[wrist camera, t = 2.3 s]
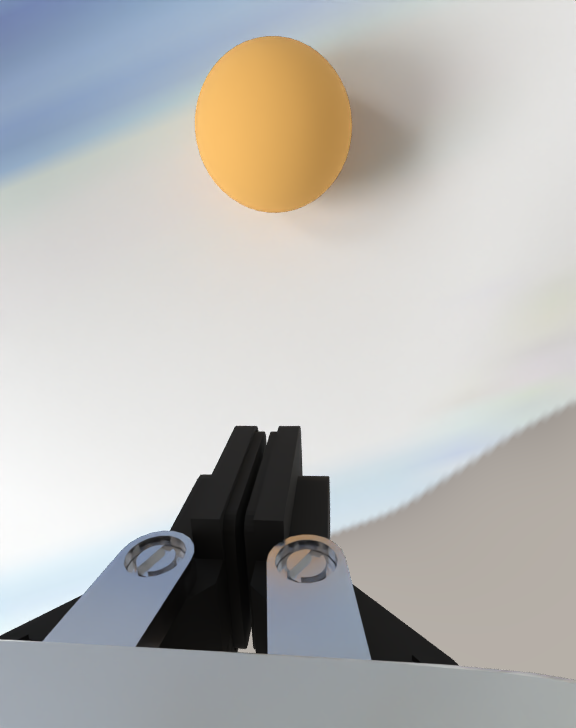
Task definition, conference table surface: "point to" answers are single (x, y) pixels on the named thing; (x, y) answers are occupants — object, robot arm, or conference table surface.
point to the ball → (273, 124)
